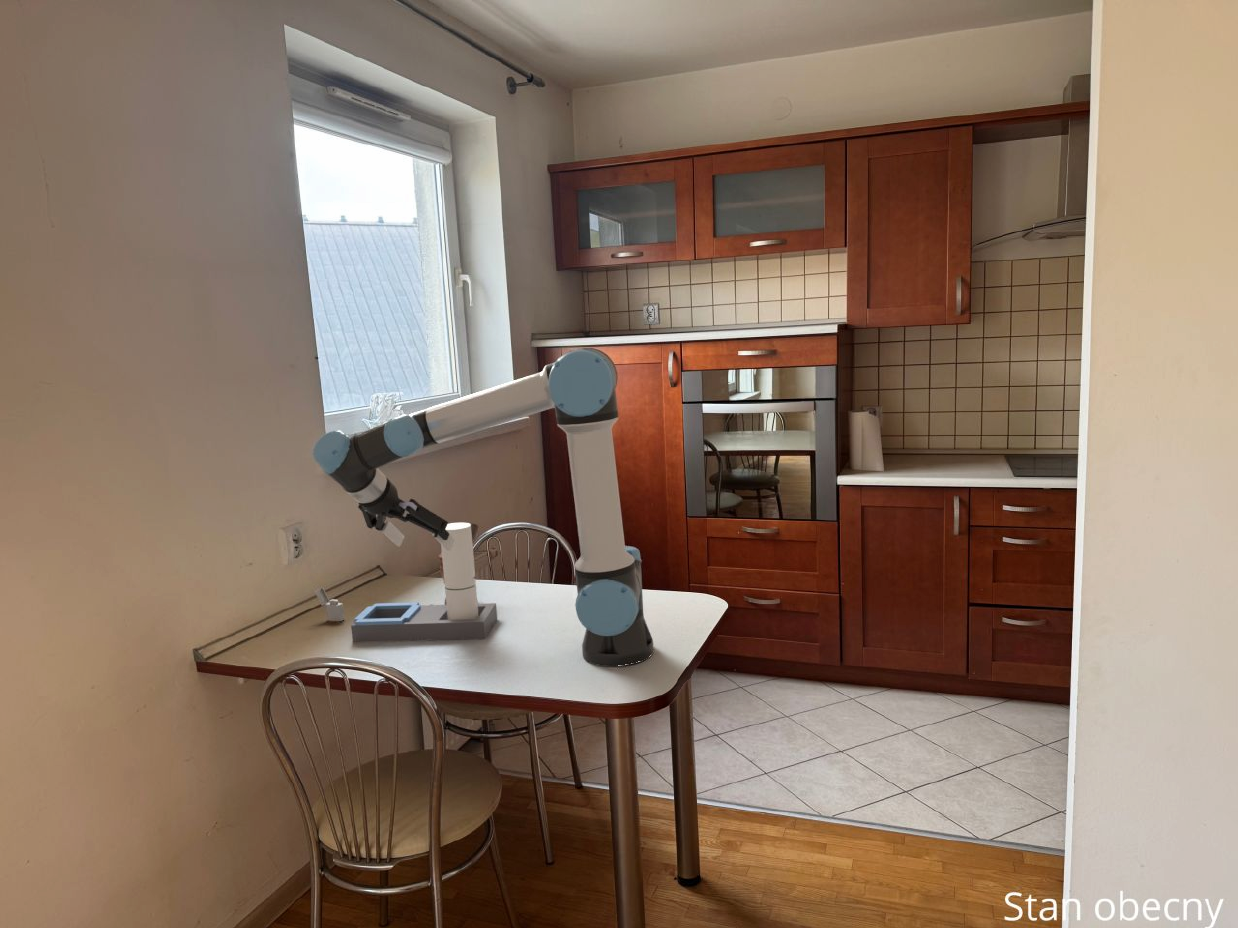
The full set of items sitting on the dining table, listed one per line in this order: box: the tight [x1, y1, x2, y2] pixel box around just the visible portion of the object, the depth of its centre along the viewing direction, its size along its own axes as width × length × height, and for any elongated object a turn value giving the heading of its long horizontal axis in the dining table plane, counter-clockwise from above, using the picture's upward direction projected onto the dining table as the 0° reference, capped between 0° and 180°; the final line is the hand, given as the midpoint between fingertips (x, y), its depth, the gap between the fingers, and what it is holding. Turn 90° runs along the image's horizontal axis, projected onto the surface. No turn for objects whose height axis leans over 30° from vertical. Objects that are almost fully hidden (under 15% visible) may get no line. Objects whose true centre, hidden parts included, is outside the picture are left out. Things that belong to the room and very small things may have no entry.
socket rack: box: [350, 601, 498, 643], centre depth 200 cm, size 31×13×5 cm, turn 86°
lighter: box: [314, 587, 345, 622], centre depth 211 cm, size 7×2×8 cm, turn 66°
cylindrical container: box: [440, 522, 479, 620], centre depth 197 cm, size 7×7×25 cm
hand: (425, 543), depth 186 cm, fingers open, 13 cm apart
